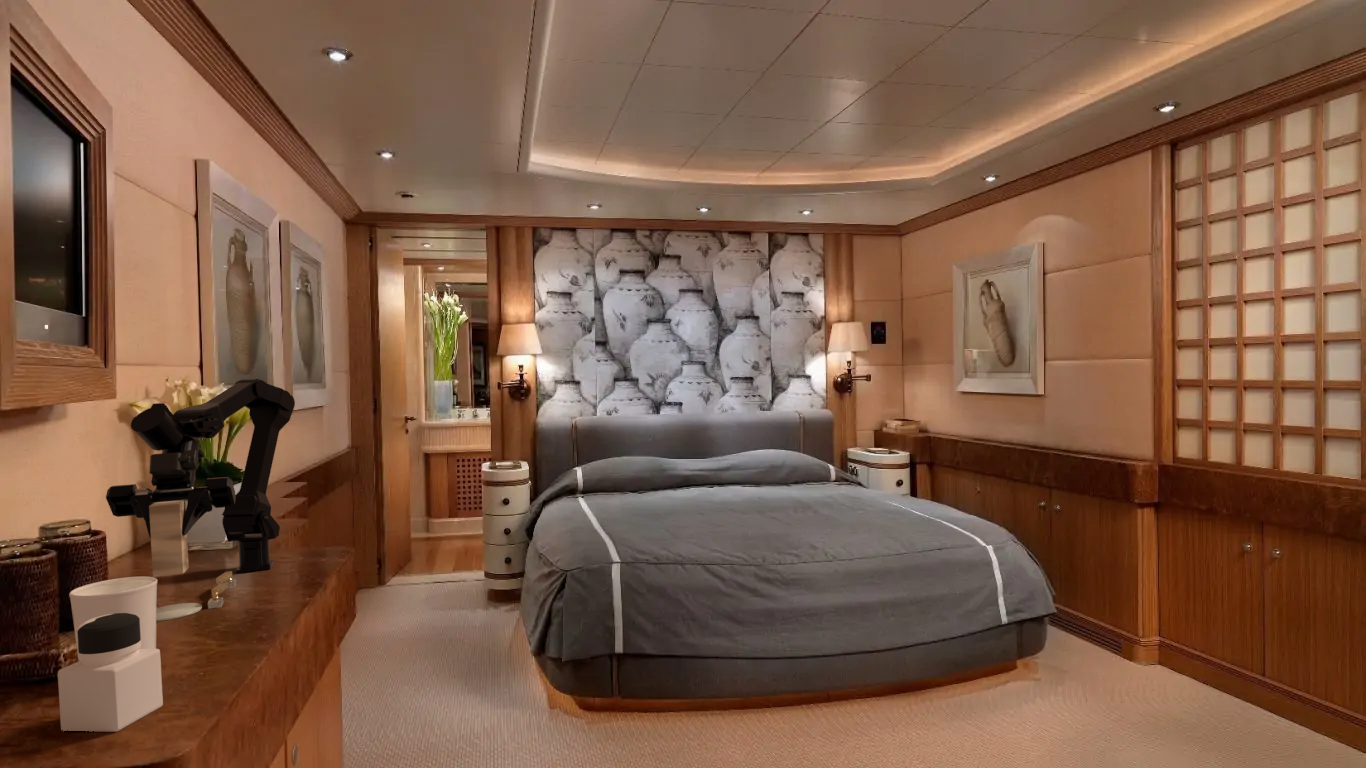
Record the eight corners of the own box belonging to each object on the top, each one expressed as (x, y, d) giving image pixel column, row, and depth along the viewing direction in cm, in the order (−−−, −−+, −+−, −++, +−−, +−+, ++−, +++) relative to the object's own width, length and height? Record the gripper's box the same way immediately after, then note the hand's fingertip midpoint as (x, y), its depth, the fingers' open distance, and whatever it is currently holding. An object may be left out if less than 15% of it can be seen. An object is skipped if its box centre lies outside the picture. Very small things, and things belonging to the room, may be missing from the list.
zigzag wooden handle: (222, 586, 154) (221, 571, 154) (238, 584, 155) (237, 569, 155) (205, 609, 139) (204, 591, 138) (223, 606, 140) (222, 589, 139)
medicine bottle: (164, 706, 97) (159, 608, 97) (117, 732, 90) (111, 627, 89) (110, 705, 97) (105, 608, 97) (59, 732, 90) (53, 627, 90)
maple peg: (159, 571, 138) (155, 502, 138) (188, 568, 140) (185, 500, 139) (152, 577, 134) (149, 506, 134) (183, 573, 136) (179, 503, 135)
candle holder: (178, 662, 112) (174, 577, 112) (108, 690, 103) (103, 597, 102) (128, 657, 115) (124, 574, 115) (56, 683, 106) (51, 593, 106)
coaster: (148, 609, 139) (147, 607, 139) (206, 602, 143) (206, 600, 143) (133, 624, 131) (133, 622, 131) (196, 616, 134) (196, 613, 134)
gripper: (106, 439, 137) (88, 513, 127) (229, 432, 143) (222, 501, 133) (121, 480, 144) (106, 552, 134) (238, 471, 151) (232, 539, 141)
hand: (167, 535), depth 135 cm, fingers closed on maple peg, 4 cm apart
